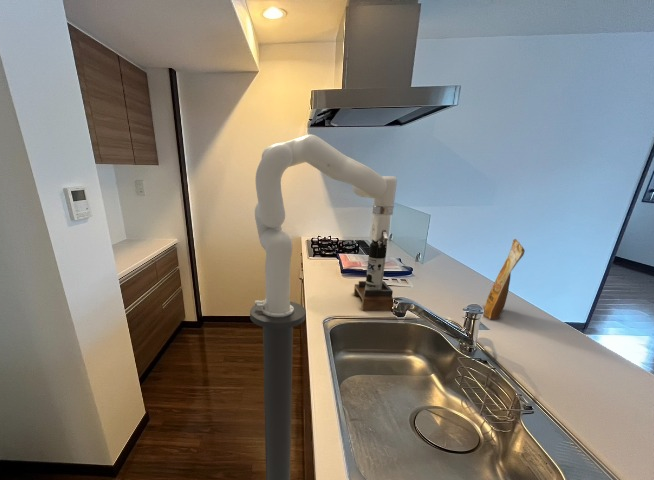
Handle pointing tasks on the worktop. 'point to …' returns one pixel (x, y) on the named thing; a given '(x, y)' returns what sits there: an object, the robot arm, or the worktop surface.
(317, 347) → the worktop surface
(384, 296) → the dark wooden tray box
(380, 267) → the spray can
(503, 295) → the pancake mix bag
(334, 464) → the worktop surface
